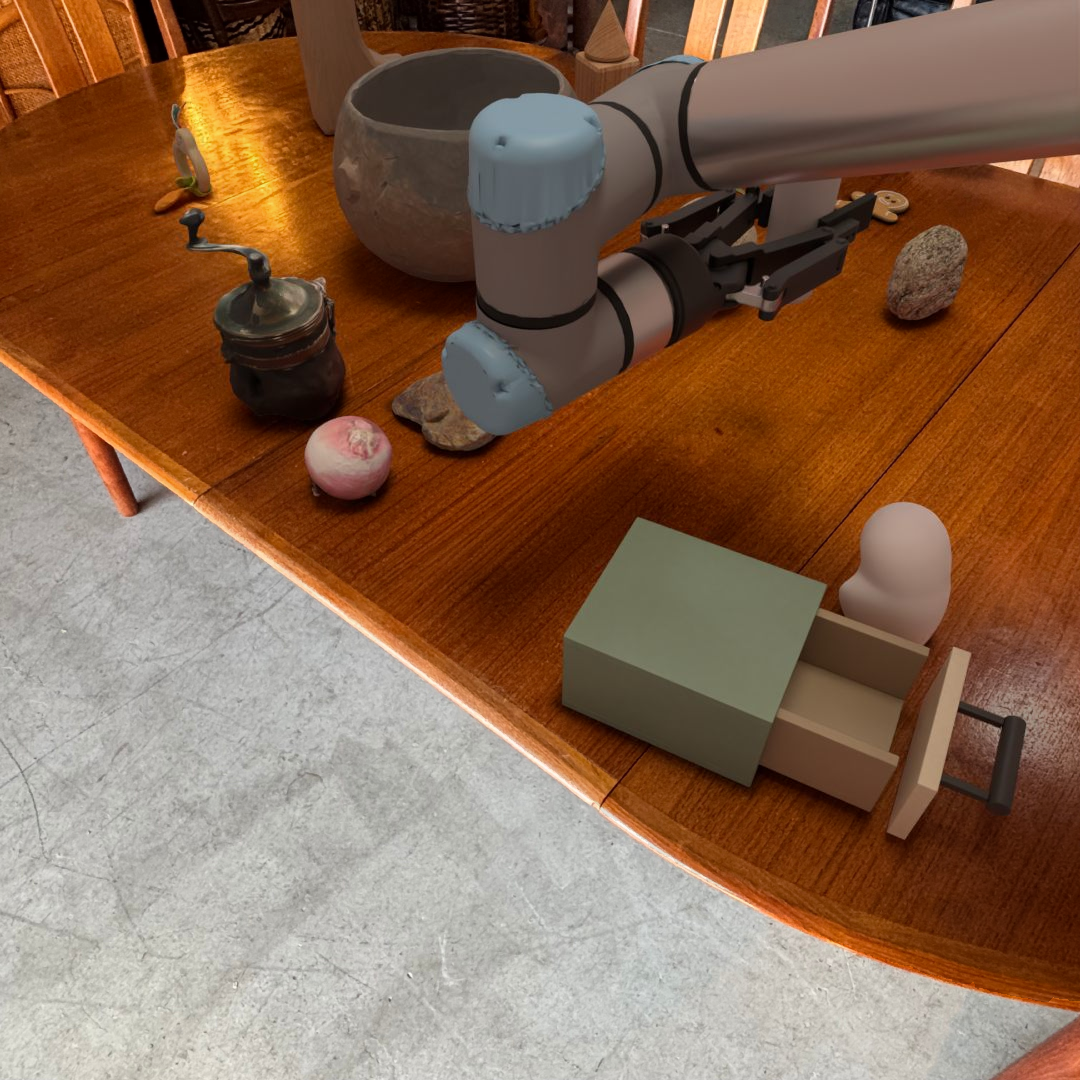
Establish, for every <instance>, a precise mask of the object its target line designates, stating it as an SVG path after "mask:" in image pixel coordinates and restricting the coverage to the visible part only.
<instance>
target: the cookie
mask: <svg viewBox="0 0 1080 1080" xmlns="http://www.w3.org/2000/svg"><path fill="white" fill-rule="evenodd" d="M866 194H867V193H865V192H862V191H857V190H856V191H853V192H851V194H850V199H851V200H852V201H854V200H856V199H858V198H860V197H862V196H864V195H866ZM873 194H874V195H877V199H876V203H875V206H874V210H873V213H872V218H873V217H874V218H875V219H878V220H880V221H882V222H885V223H887V224H888V223H889V224H891V223H896V222H897V221H898V218H899V217H898V215H897V214H901V213H903V212H906V210H907V209H909V205H910V204H909V200H908V198H906V197H905V196H904V195H902V194H901V193H898V192H895V191H893V190H879V191H876V192H874V193H873ZM851 200H850V201H849V200H842V199H837V200H836V204H835V208H834V211H835V210H837V209H839V208H841V207H843V206H845V205H847V204H848V203H850V202H852V201H851Z"/></svg>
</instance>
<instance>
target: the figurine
mask: <svg viewBox="0 0 1080 1080" xmlns="http://www.w3.org/2000/svg"><path fill="white" fill-rule="evenodd" d="M859 537H860V538H859V554H860V563H859V566H858V568H857V571H856V572H855V573H854V574H853V575H852V576H850V578H849V579H847V580H846V581H844V582H843V583H842V584H841V586H840V587H839V589H838V601H839V604H840V608H841V611H842V613H843V615H844V617H846V618H849V619H852V620H854V621H857V622H860V623H862V624H865V625H868V626H871V627H873V628H876V629H879V630H882V631H884V632H887V633H890V634H892V635H895V636H898V637H901V638H903V639H906V640H909V641H911V642H914V643H917V644H920V645H922V646H925V644H926V643H928V641H929V640H930V639H931V637H932V636H933V635H934V633H935V632H936V631H937V629H938V627H939V626H940V624H941V622H942V620H943V618H944V616H945V615H946V611H947V608H948V605H949V601H950V597H951V588H952V587H951V585H952V583H951V580H952V579H951V573H952V564H953V554H952V547H951V540H950V535H949V533H948V531H947V528H946V526H945V525H944V523H943V521H942V520H941V519H940V518H939V517H938V516H937V515H936V513H934V512H933V511H932V510H930V509H929V508H927V507H925V506H923V505H920V504H918V503H914V502H908V501H898V502H892V503H889V504H886V505H883V506H882V507H880V508H878V509H877V510H876V511H875V512H874V513H872V514H871V515H870V517H869V518H868V519H867V521H866V522H865V524H864V526H863V528H862V530H861V534H860V536H859Z"/></svg>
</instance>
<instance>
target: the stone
mask: <svg viewBox="0 0 1080 1080" xmlns="http://www.w3.org/2000/svg"><path fill="white" fill-rule="evenodd" d="M967 256H968V244H967V242H966V239H965V238H964V237H963V235H962V233H961V232H960V231H958V230H957V229H955V228H954V227H951V226H949V225H941V224H938V225H935V226H932V227H931V228H928V229H926V230H925V231H922V232H921V233H919V234H918V235H917V236H915V237H914V238H912V239H911V240H909V241H908V242H907V243H906V244H905V245H904V246H903V248H902V250H901V251H900V252H899V254H898V255H897V257H896V259H895V262H894V264H893V268H892V272H891V274H890V277H889V279H888V282H887V288H886V292H885V293H886V294H885V296H886V297H885V298H886V304H887V306H888V309H889V310H890V312H891V313H892V314H894V315H895V316H897V318H898V319H901V320H906V321H918V320H923V319H925V318H927V317H930V316H931V315H932V314H936V313H938V311H940V310H941V309H946V308H947V307H949V306H951V304H952V303H953V302H954V301H953V300H955V299H957V295H958V292H959V289H960V288H961V287H962V281H963V280H962V279H963V273H964V269H965V265H966V260H967Z"/></svg>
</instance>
